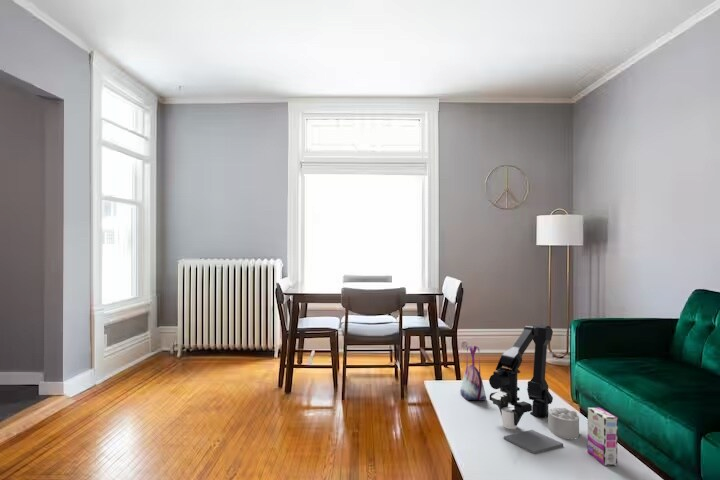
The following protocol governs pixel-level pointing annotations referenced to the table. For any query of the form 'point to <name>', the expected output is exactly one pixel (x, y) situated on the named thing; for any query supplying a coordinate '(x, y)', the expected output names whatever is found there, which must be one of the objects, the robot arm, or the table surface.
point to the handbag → (472, 380)
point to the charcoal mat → (533, 441)
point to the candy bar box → (602, 436)
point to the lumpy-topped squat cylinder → (563, 423)
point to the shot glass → (508, 417)
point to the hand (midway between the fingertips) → (509, 422)
